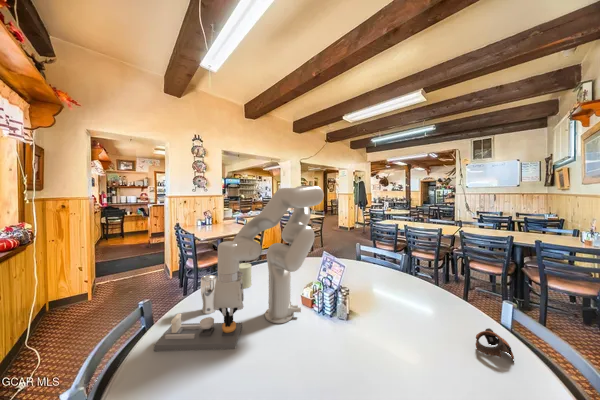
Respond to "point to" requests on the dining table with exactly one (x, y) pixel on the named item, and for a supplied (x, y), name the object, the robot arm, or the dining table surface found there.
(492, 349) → the brown looped piece
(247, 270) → the can
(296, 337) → the dining table surface
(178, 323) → the lever
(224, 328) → the orange button
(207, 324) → the white rounded thick disc
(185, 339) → the panel
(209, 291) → the tall white cup
